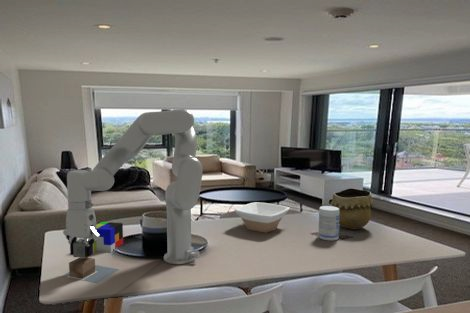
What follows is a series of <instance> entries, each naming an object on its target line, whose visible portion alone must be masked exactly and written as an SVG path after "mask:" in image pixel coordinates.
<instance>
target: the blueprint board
mask: <svg viewBox="0 0 470 313" xmlns="http://www.w3.org/2000/svg"><path fill="white" fill-rule="evenodd" d="M120 269H121V268H115V267H109V266H103V265H97V264H95V272H94V273H93V274H91V275H89V276H87V277H86V278H84V279H81V278H76V277H70V275H69V271H68V272H66V273H65V274H62V275H60V277H62V278H68V279H72V280H77V281H82V282H88V283H93V284H99V283H100V282H102V281H103V280H105V279H107V278H108V277H110V276H112V275H114V274H115V273H117V272H118V271H120Z"/></svg>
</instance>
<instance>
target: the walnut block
mask: <svg viewBox="0 0 470 313" xmlns="http://www.w3.org/2000/svg"><path fill="white" fill-rule="evenodd" d="M95 265H96V258H92V257H77V258H75V259H74V260H72V261H69V262H68V272H69V275H70V277H76V278H81V279H84V278H86V277H87V276H89V275H91V274H93V273H94V272H95Z"/></svg>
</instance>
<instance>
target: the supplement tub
mask: <svg viewBox="0 0 470 313" xmlns="http://www.w3.org/2000/svg"><path fill="white" fill-rule="evenodd" d="M318 238H319V239H321V240H322V241H332V242H333V241H337V240H339V238H340V224H339V208H337V207H334V206H332V205H323V206H320V207H319V210H318Z"/></svg>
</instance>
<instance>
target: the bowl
mask: <svg viewBox="0 0 470 313" xmlns="http://www.w3.org/2000/svg"><path fill="white" fill-rule="evenodd" d="M289 210H290V207H289V206H285V205H280V204H276V203H275V204H274V203H270V202H269V203H267V202H257V201H254V202H250V203H247V204H244V205H242V206H239V207H236V208H235V209H234V210H233V211H234V212H235V214H237V216H239V217H240V218H241V220H242V222H243V223H244V225H245V228H246V229H247V230H251V231H254V232H257V233H258V232H259V233H265V234H267V233H269V232H272V231H274V230H276V229H277V227H278V225H279V224H280V222H281V220H282V219H283V217H284V216H285V215H286V214H287V212H289Z"/></svg>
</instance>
